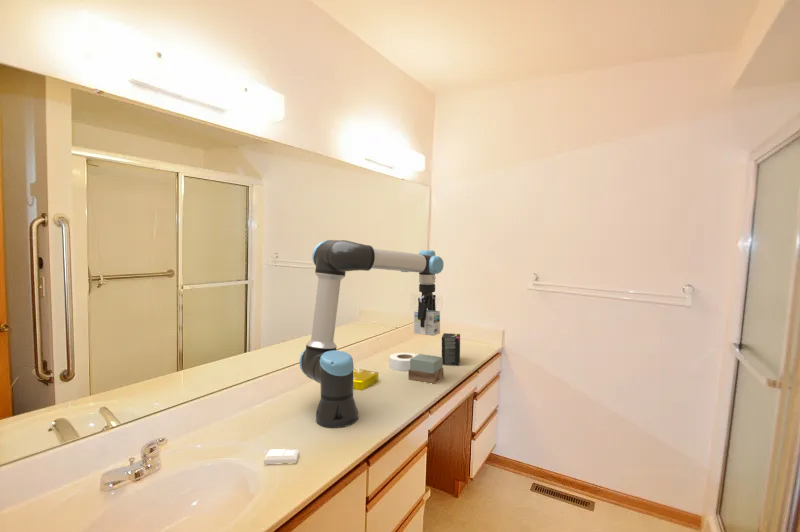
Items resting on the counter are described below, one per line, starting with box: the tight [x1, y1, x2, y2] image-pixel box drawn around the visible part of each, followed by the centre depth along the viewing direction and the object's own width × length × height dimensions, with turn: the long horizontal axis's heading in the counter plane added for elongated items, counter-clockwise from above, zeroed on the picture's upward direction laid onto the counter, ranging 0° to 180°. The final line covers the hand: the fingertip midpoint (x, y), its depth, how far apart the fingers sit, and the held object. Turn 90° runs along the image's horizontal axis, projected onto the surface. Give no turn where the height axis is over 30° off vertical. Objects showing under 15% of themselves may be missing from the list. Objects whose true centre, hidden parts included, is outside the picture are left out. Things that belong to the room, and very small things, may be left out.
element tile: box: [353, 367, 379, 391], centre depth 184 cm, size 15×15×5 cm
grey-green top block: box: [410, 353, 444, 374], centre depth 190 cm, size 10×12×5 cm
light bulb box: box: [413, 309, 441, 337], centre depth 189 cm, size 11×7×11 cm, turn 58°
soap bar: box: [263, 448, 300, 465], centre depth 118 cm, size 5×9×3 cm, turn 94°
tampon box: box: [441, 332, 461, 367], centre depth 215 cm, size 11×9×15 cm
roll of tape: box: [389, 352, 418, 372], centre depth 208 cm, size 16×16×6 cm
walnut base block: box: [407, 367, 444, 385], centre depth 190 cm, size 11×13×5 cm
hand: (426, 332), depth 189 cm, fingers closed on light bulb box, 7 cm apart
